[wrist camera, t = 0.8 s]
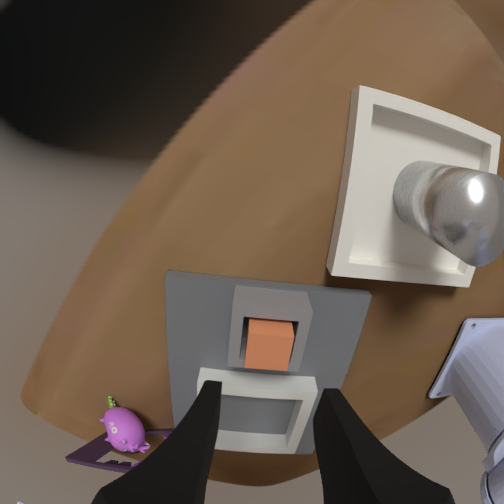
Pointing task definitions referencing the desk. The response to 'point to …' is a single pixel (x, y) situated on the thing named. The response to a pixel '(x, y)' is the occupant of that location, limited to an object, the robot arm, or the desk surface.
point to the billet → (453, 208)
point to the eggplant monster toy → (115, 440)
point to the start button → (268, 344)
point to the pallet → (250, 379)
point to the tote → (382, 183)
